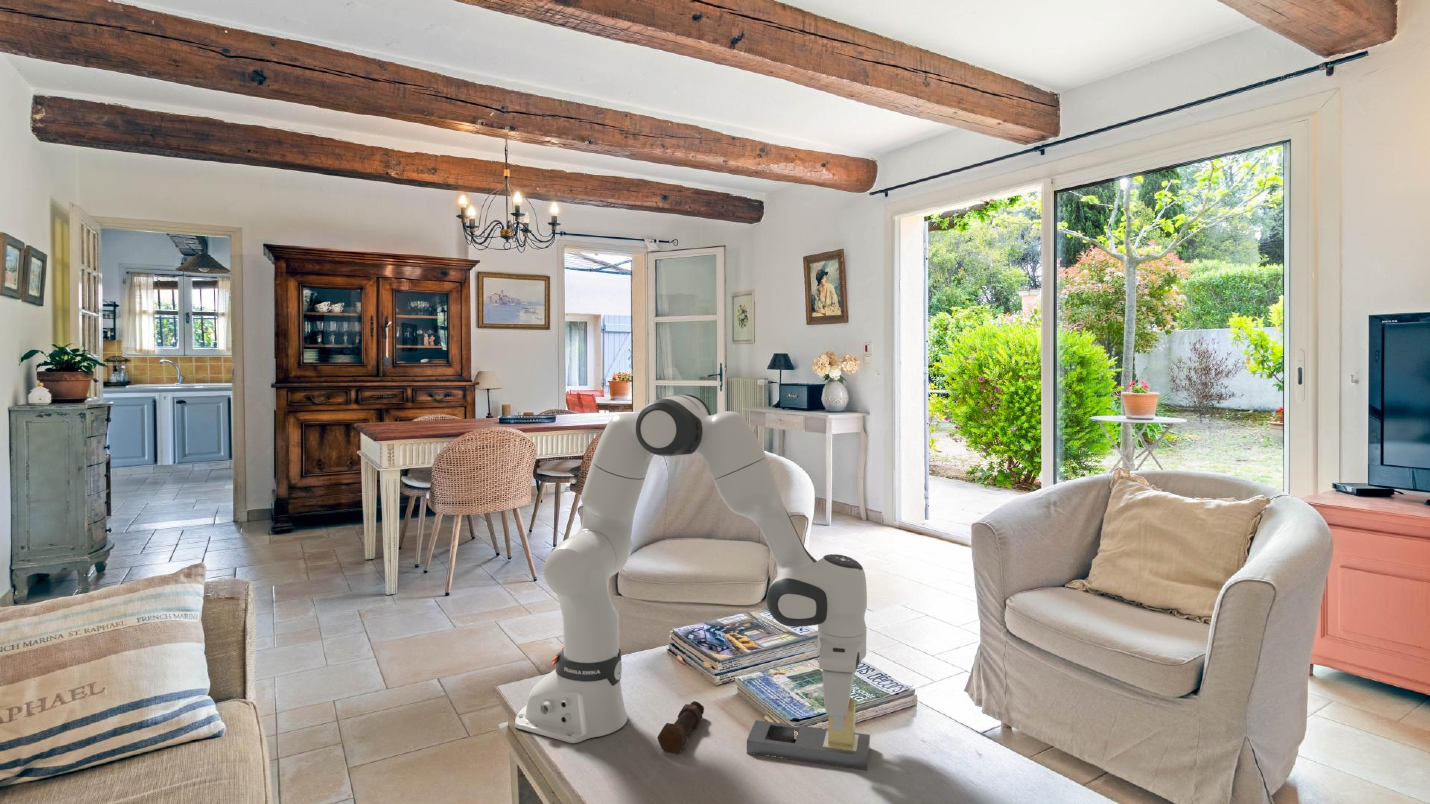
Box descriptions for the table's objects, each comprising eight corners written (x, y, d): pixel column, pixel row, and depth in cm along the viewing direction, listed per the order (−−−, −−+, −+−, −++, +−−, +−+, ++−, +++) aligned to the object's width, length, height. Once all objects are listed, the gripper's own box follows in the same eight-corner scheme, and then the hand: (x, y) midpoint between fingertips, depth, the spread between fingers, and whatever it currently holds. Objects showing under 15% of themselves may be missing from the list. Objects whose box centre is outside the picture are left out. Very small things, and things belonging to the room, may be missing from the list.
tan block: (828, 745, 136) (828, 708, 135) (831, 733, 140) (831, 697, 140) (853, 748, 134) (853, 711, 134) (855, 736, 139) (855, 700, 138)
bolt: (700, 726, 152) (674, 761, 138) (680, 711, 153) (652, 744, 139) (714, 704, 151) (689, 737, 137) (694, 689, 152) (667, 720, 138)
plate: (746, 753, 138) (746, 739, 138) (755, 732, 146) (755, 719, 146) (867, 770, 132) (867, 755, 132) (869, 747, 140) (869, 733, 140)
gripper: (830, 623, 147) (830, 691, 148) (817, 664, 127) (817, 742, 128) (863, 626, 145) (862, 695, 146) (855, 668, 126) (854, 747, 127)
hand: (841, 717), depth 137 cm, fingers open, 8 cm apart
